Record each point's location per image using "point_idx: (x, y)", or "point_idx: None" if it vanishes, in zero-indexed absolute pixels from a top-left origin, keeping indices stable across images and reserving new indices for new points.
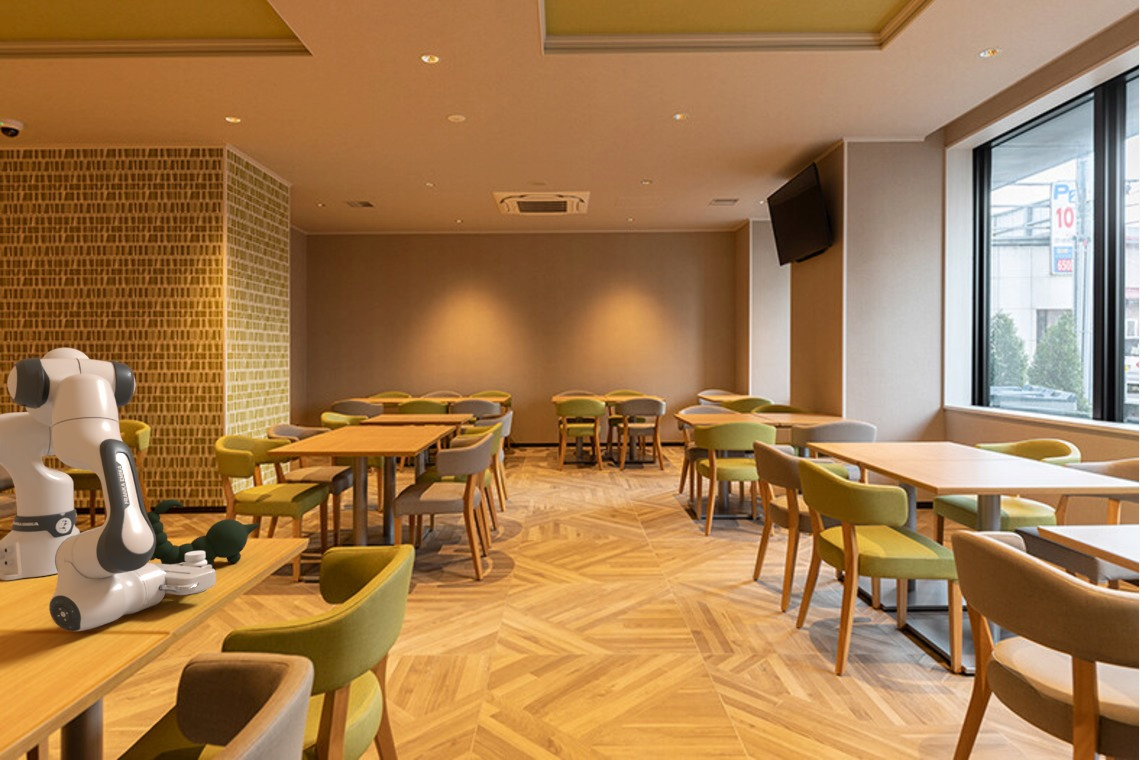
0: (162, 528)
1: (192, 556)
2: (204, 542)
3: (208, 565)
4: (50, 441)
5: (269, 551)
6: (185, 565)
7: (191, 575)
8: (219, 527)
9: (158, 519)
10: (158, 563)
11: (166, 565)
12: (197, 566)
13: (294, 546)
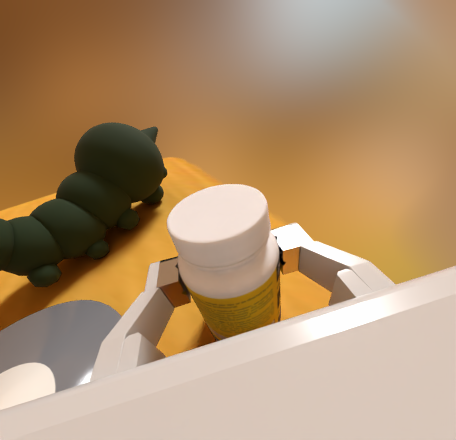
0: None
1: (255, 231)
2: (95, 183)
3: (302, 230)
4: None
5: (167, 173)
6: (231, 291)
7: None
8: (105, 139)
9: None
10: (27, 411)
11: (153, 422)
12: (279, 259)
13: (181, 160)
